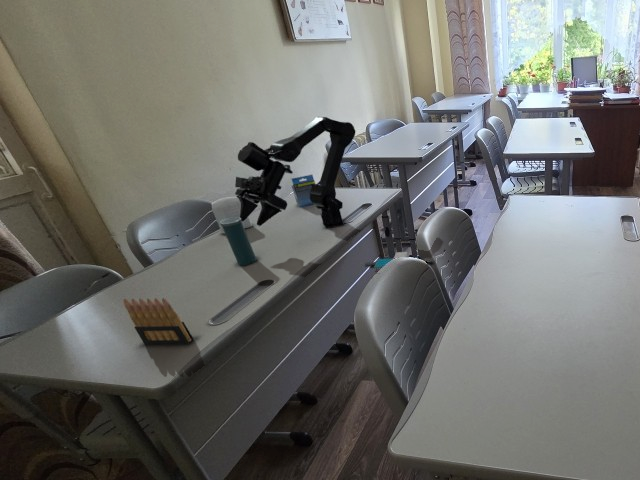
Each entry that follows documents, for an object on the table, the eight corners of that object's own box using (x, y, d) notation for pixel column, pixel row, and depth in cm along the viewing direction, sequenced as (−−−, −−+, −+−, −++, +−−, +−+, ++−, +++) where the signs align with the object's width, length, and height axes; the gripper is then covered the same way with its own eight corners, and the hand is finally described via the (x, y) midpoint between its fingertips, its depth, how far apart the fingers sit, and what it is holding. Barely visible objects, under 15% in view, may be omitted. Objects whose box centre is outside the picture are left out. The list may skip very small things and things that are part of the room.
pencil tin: (257, 256, 130) (241, 215, 123) (256, 263, 125) (239, 221, 118) (238, 260, 128) (221, 219, 121) (236, 267, 124) (218, 225, 117)
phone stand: (433, 252, 126) (433, 247, 125) (428, 270, 116) (428, 265, 115) (370, 255, 126) (369, 251, 125) (360, 274, 116) (359, 269, 115)
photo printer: (250, 224, 156) (238, 193, 149) (253, 226, 153) (241, 195, 147) (220, 232, 150) (207, 200, 143) (223, 235, 147) (209, 203, 141)
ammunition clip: (194, 339, 92) (170, 295, 86) (188, 344, 91) (163, 300, 85) (150, 339, 93) (123, 296, 87) (144, 344, 91) (116, 301, 85)
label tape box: (317, 200, 178) (309, 172, 172) (320, 202, 175) (312, 174, 169) (297, 205, 173) (288, 177, 167) (300, 207, 171) (291, 178, 164)
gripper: (229, 162, 124) (207, 207, 122) (265, 167, 116) (241, 216, 113) (262, 180, 134) (242, 222, 132) (297, 186, 126) (276, 231, 123)
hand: (249, 223), depth 125 cm, fingers open, 9 cm apart
